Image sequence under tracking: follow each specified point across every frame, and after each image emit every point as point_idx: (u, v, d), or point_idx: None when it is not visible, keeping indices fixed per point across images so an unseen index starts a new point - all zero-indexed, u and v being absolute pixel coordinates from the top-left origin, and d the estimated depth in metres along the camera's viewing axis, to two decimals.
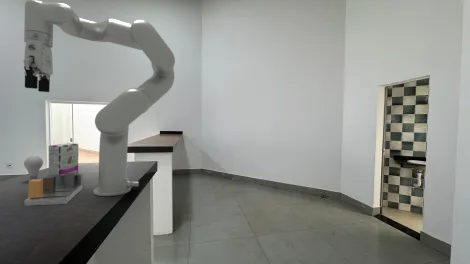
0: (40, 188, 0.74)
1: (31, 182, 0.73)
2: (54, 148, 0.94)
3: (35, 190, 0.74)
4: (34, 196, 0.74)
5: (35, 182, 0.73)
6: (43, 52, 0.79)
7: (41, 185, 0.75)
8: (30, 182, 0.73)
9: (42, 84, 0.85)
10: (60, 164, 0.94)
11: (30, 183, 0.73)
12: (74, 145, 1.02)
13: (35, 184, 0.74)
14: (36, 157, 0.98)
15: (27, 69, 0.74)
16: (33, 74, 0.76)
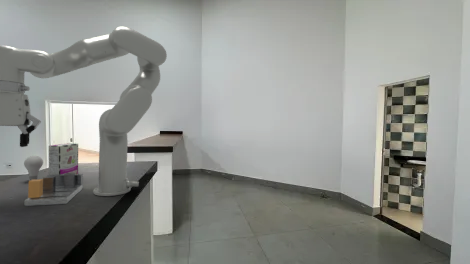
0: (40, 188, 0.74)
1: (31, 182, 0.73)
2: (54, 148, 0.94)
3: (35, 190, 0.74)
4: (34, 196, 0.74)
5: (35, 182, 0.73)
6: None
7: (41, 185, 0.75)
8: (30, 182, 0.73)
9: None
10: (60, 164, 0.94)
11: (30, 183, 0.73)
12: (74, 145, 1.02)
13: (35, 184, 0.74)
14: (36, 157, 0.98)
15: (33, 128, 0.74)
16: (30, 132, 0.74)
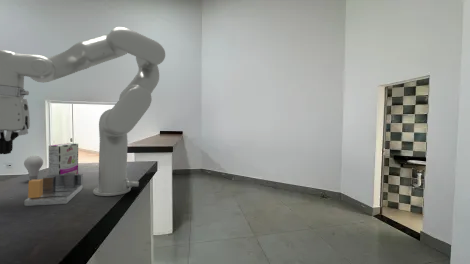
0: (40, 188, 0.74)
1: (31, 182, 0.73)
2: (54, 148, 0.94)
3: (35, 190, 0.74)
4: (34, 196, 0.74)
5: (35, 182, 0.73)
6: None
7: (41, 185, 0.75)
8: (30, 182, 0.73)
9: None
10: (60, 164, 0.94)
11: (30, 183, 0.73)
12: (74, 145, 1.02)
13: (35, 184, 0.74)
14: (36, 157, 0.98)
15: (16, 135, 0.72)
16: (12, 140, 0.73)
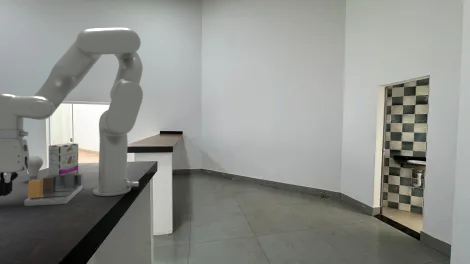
0: (40, 188, 0.74)
1: (31, 182, 0.73)
2: (54, 148, 0.94)
3: (35, 190, 0.74)
4: (34, 196, 0.74)
5: (35, 182, 0.73)
6: None
7: (41, 185, 0.75)
8: (30, 182, 0.73)
9: None
10: (60, 164, 0.94)
11: (30, 183, 0.73)
12: (74, 145, 1.02)
13: (35, 184, 0.74)
14: (36, 157, 0.98)
15: (16, 176, 0.73)
16: None
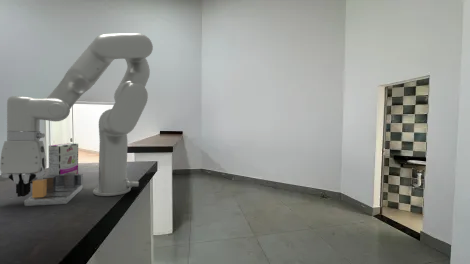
0: (44, 188, 0.75)
1: (35, 182, 0.73)
2: (54, 148, 0.94)
3: (39, 190, 0.74)
4: (38, 196, 0.74)
5: (39, 182, 0.74)
6: None
7: (45, 185, 0.76)
8: (34, 182, 0.73)
9: None
10: (60, 164, 0.94)
11: (34, 183, 0.73)
12: (74, 145, 1.02)
13: (39, 184, 0.74)
14: None
15: None
16: None
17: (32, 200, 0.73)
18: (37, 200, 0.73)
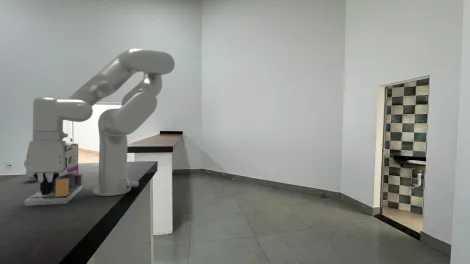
0: (66, 187, 0.77)
1: (58, 181, 0.75)
2: None
3: (62, 189, 0.76)
4: (61, 195, 0.76)
5: (62, 181, 0.76)
6: None
7: (67, 184, 0.78)
8: (57, 181, 0.75)
9: None
10: None
11: (57, 182, 0.75)
12: (74, 145, 1.02)
13: (62, 183, 0.76)
14: None
15: (57, 176, 0.76)
16: None
17: (32, 200, 0.73)
18: (37, 200, 0.73)
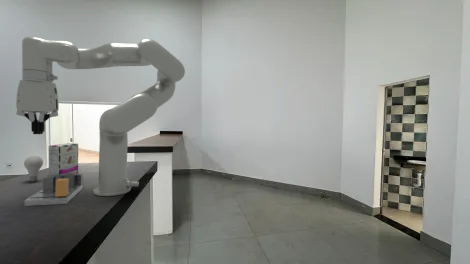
0: (66, 187, 0.77)
1: (58, 181, 0.75)
2: (54, 148, 0.94)
3: (62, 189, 0.76)
4: (61, 195, 0.76)
5: (62, 181, 0.76)
6: None
7: (67, 184, 0.78)
8: (57, 181, 0.75)
9: None
10: (60, 164, 0.94)
11: (57, 182, 0.75)
12: (74, 145, 1.02)
13: (62, 183, 0.76)
14: (36, 157, 0.98)
15: (48, 117, 0.78)
16: None
17: (32, 200, 0.73)
18: (37, 200, 0.73)
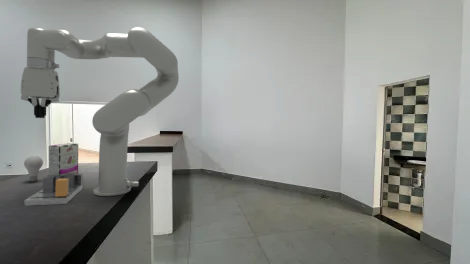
0: (66, 187, 0.77)
1: (58, 181, 0.75)
2: (54, 148, 0.94)
3: (62, 189, 0.76)
4: (61, 195, 0.76)
5: (62, 181, 0.76)
6: None
7: (67, 184, 0.78)
8: (57, 181, 0.75)
9: None
10: (60, 164, 0.94)
11: (57, 182, 0.75)
12: (74, 145, 1.02)
13: (62, 183, 0.76)
14: (36, 157, 0.98)
15: (50, 102, 0.84)
16: (46, 106, 0.85)
17: (32, 200, 0.73)
18: (37, 200, 0.73)
